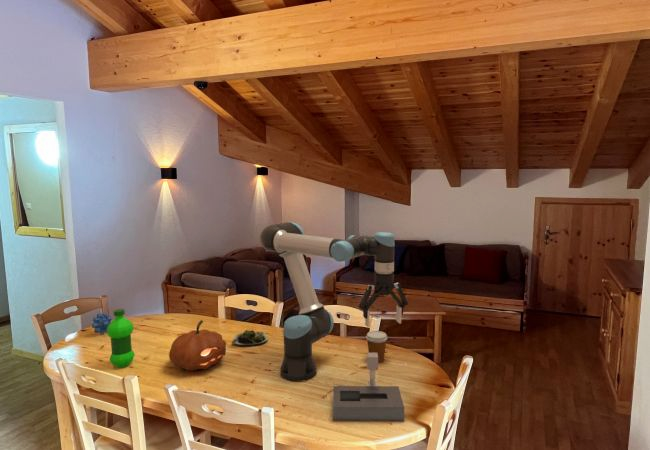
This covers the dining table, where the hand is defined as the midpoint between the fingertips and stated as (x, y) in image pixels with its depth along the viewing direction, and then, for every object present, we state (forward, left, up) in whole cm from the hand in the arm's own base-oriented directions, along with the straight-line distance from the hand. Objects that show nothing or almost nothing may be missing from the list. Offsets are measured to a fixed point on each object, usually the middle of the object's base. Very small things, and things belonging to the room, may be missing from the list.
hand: (383, 324), depth 166 cm
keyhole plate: (-8, -21, -24) cm, 33 cm away
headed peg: (-5, -7, -24) cm, 25 cm away
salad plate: (-63, +41, -24) cm, 79 cm away
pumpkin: (-80, +14, -24) cm, 84 cm away
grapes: (-143, +49, -24) cm, 153 cm away
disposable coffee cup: (-1, +19, -24) cm, 30 cm away
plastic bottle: (-114, +13, -24) cm, 117 cm away
